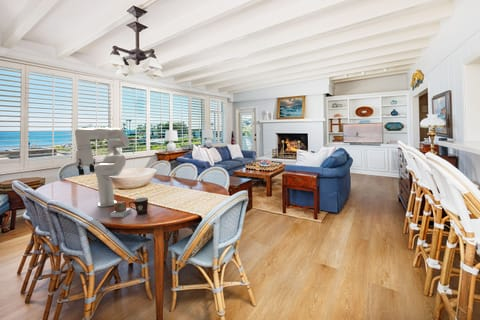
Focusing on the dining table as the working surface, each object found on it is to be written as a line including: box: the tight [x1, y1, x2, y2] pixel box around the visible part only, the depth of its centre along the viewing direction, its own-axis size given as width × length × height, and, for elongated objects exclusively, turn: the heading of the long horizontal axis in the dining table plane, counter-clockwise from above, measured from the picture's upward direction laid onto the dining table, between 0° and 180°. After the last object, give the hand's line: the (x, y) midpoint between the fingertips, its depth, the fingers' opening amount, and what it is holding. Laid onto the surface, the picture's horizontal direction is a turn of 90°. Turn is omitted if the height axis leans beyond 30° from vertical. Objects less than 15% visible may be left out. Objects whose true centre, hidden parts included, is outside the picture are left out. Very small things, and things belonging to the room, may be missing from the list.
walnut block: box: [113, 200, 127, 212], centre depth 152 cm, size 5×5×6 cm
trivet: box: [109, 207, 132, 218], centre depth 153 cm, size 9×9×3 cm
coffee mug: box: [128, 197, 149, 216], centre depth 153 cm, size 12×9×10 cm
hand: (87, 173), depth 151 cm, fingers open, 9 cm apart
